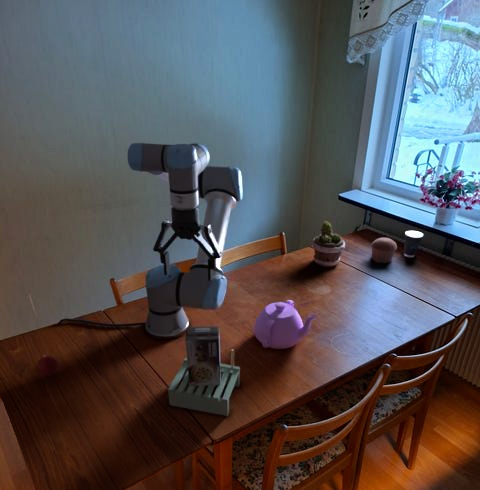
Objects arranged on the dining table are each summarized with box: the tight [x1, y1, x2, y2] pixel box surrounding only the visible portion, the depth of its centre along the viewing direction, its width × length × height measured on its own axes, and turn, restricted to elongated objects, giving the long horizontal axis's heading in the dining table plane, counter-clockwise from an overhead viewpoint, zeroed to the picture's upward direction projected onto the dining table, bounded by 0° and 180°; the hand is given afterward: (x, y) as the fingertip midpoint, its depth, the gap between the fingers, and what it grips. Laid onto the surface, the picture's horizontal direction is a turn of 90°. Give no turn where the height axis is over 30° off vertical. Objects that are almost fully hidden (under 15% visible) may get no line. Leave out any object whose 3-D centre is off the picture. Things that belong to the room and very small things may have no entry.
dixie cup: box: [403, 230, 424, 258], centre depth 212 cm, size 8×8×11 cm
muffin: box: [370, 237, 398, 264], centre depth 208 cm, size 12×11×10 cm
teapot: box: [253, 299, 318, 350], centre depth 151 cm, size 22×22×14 cm
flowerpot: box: [311, 219, 346, 268], centre depth 201 cm, size 14×15×20 cm
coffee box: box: [184, 325, 222, 387], centre depth 124 cm, size 9×6×16 cm
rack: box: [167, 348, 241, 417], centre depth 128 cm, size 17×14×13 cm
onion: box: [36, 354, 59, 377], centre depth 136 cm, size 6×6×8 cm
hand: (188, 276), depth 132 cm, fingers open, 13 cm apart
